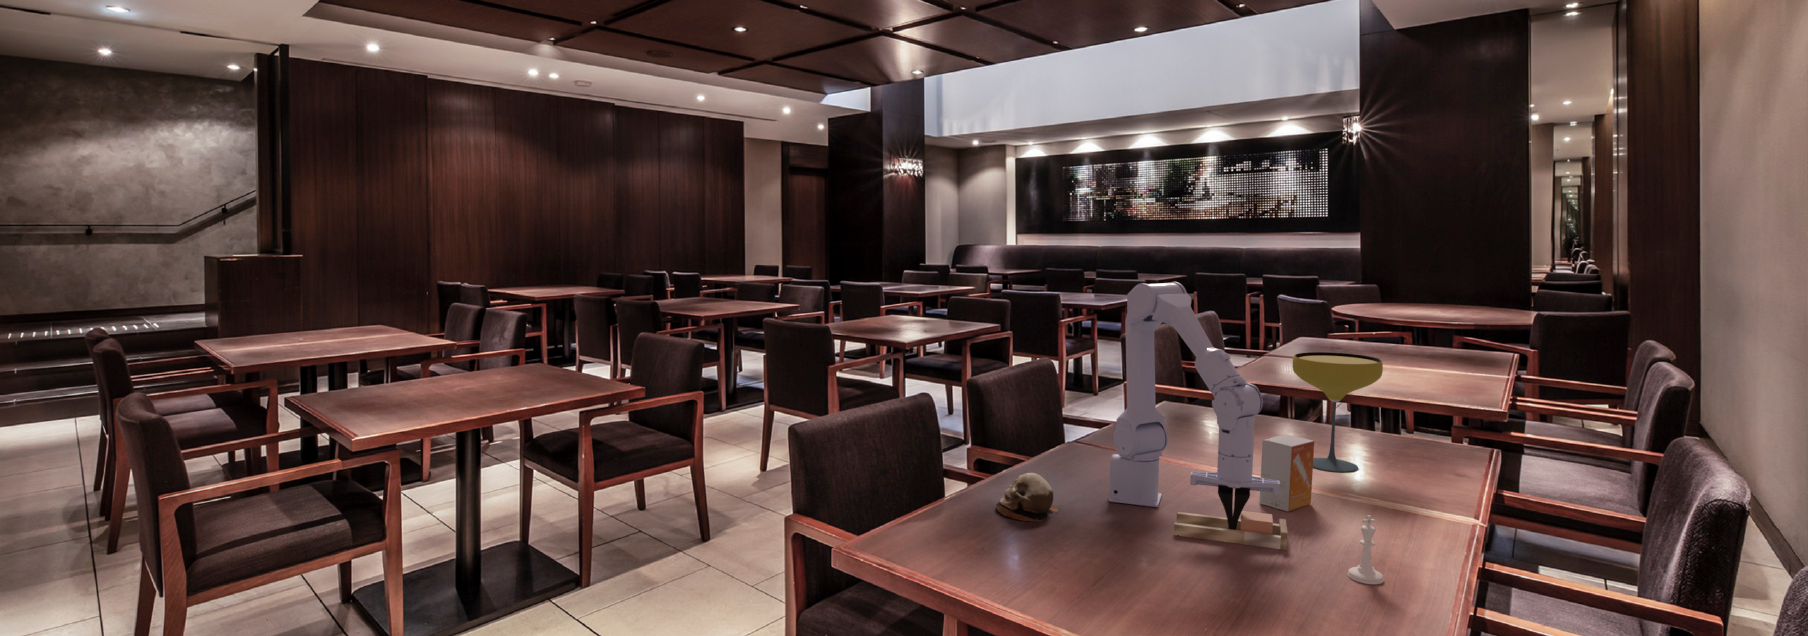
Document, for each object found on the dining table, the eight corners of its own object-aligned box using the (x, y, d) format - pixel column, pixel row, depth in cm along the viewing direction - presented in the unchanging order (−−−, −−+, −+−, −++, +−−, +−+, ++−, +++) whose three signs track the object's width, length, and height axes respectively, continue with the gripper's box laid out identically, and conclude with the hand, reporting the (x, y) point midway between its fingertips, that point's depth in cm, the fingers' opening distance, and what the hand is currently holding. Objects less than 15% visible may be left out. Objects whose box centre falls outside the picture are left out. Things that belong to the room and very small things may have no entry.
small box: (1288, 512, 156) (1291, 446, 155) (1258, 503, 162) (1261, 439, 160) (1312, 504, 161) (1315, 440, 160) (1281, 496, 166) (1284, 433, 165)
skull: (980, 509, 156) (999, 462, 161) (1003, 532, 163) (1021, 487, 168) (1035, 520, 149) (1053, 471, 153) (1056, 545, 155) (1073, 497, 160)
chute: (1173, 535, 145) (1174, 518, 145) (1176, 522, 152) (1177, 506, 151) (1286, 550, 138) (1287, 533, 138) (1284, 535, 145) (1285, 519, 144)
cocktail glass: (1277, 453, 198) (1282, 351, 195) (1357, 456, 195) (1363, 352, 192) (1303, 475, 180) (1308, 363, 177) (1391, 478, 177) (1398, 365, 175)
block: (1240, 541, 142) (1241, 518, 142) (1240, 532, 146) (1241, 510, 146) (1271, 545, 140) (1272, 522, 140) (1271, 536, 144) (1272, 514, 144)
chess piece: (1340, 571, 129) (1343, 510, 128) (1370, 570, 130) (1373, 509, 129) (1360, 585, 125) (1364, 521, 123) (1390, 584, 125) (1394, 520, 124)
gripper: (1190, 454, 142) (1187, 530, 144) (1281, 463, 137) (1278, 541, 138) (1192, 444, 149) (1190, 517, 150) (1280, 452, 143) (1276, 527, 145)
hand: (1232, 528), depth 145 cm, fingers closed
